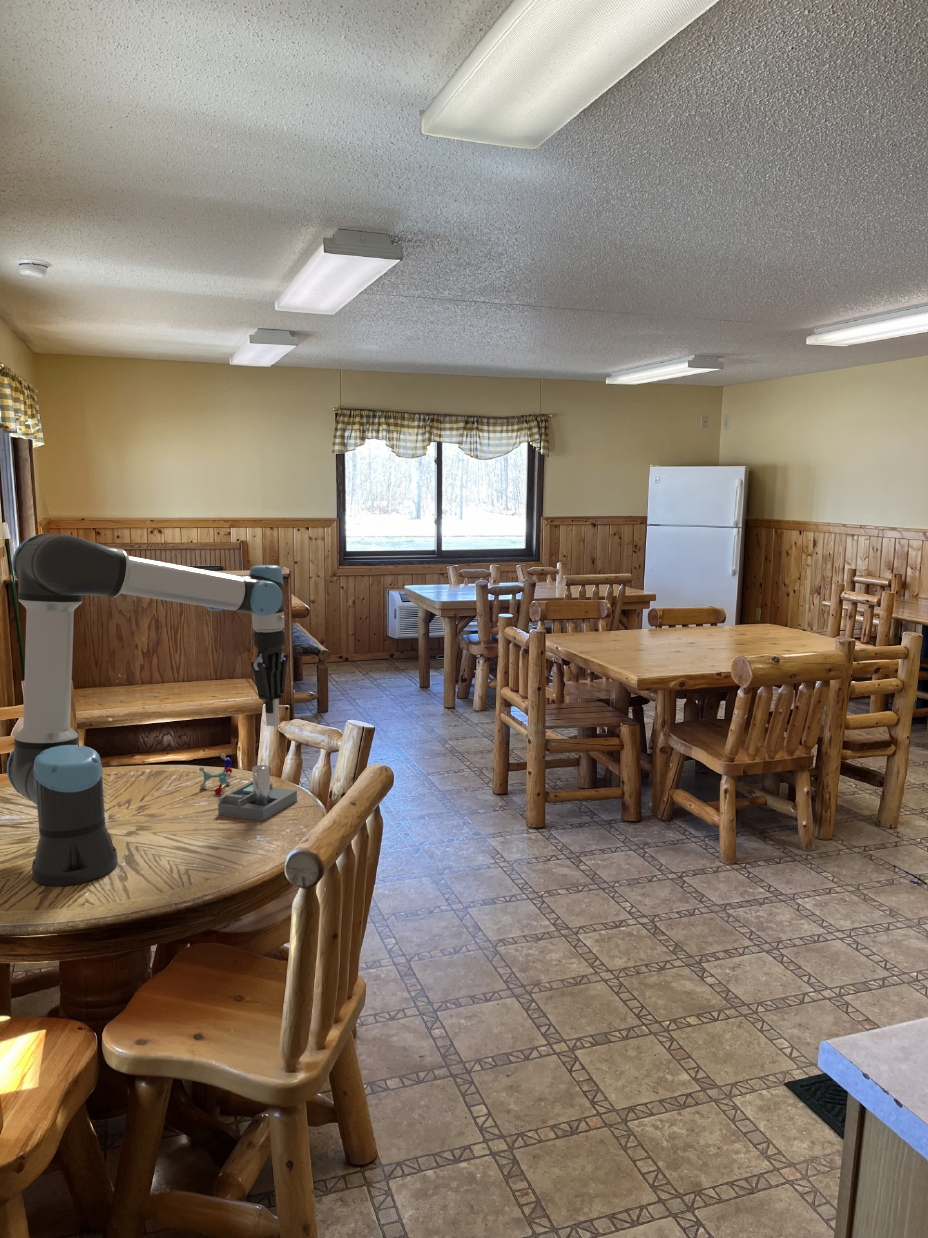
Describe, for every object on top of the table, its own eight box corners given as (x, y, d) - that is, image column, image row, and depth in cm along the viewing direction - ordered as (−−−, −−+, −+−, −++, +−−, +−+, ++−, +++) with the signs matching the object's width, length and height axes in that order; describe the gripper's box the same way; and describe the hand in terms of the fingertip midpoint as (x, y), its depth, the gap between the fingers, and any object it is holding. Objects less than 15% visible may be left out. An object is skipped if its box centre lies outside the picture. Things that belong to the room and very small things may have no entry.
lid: (255, 794, 202) (254, 779, 201) (242, 792, 203) (241, 777, 202) (270, 786, 207) (269, 771, 207) (257, 784, 208) (256, 770, 208)
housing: (263, 821, 192) (262, 803, 191) (218, 814, 196) (217, 797, 196) (297, 800, 205) (296, 784, 204) (254, 795, 209) (253, 778, 209)
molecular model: (180, 779, 210) (201, 742, 213) (201, 787, 219) (221, 751, 221) (216, 799, 206) (237, 761, 208) (235, 806, 214) (255, 769, 217)
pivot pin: (264, 813, 195) (262, 770, 194) (251, 811, 197) (249, 769, 195) (273, 807, 199) (271, 765, 197) (260, 806, 200) (258, 764, 199)
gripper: (266, 634, 200) (271, 733, 203) (297, 626, 212) (300, 720, 215) (239, 633, 202) (244, 730, 206) (270, 625, 215) (274, 717, 218)
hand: (273, 725), depth 210 cm, fingers closed
